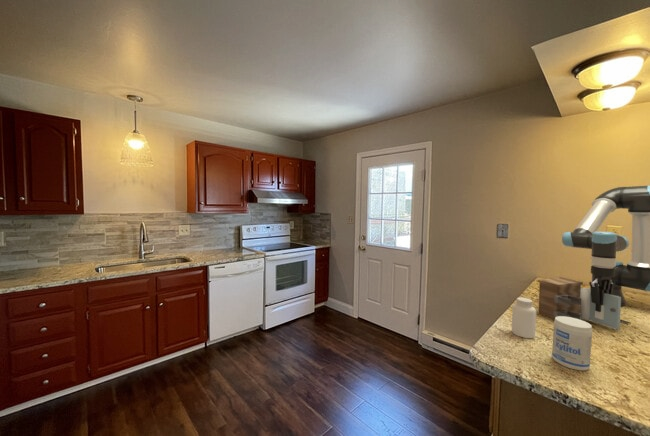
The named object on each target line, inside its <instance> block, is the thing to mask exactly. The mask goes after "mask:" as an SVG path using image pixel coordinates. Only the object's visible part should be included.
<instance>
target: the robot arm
mask: <svg viewBox="0 0 650 436" xmlns="http://www.w3.org/2000/svg"><path fill="white" fill-rule="evenodd" d="M618 209H625V210H626V209H627V213H628V214H629V215H631V216H632V217H631V218H632V219H631V224H632V225H631V260H629V261H627V262H626V265H624V263H623V261H619V260H618V261H617V259H616V258H617V257H616V256H617V252H622V251H624V250H626V249H628V248H629V245H630V241H629V240H628V238H627V237H626V236H623V235H620V234H617V233H615V232H613V231H598V230H599V229H600V227H601V226H602V225H603V223H604V222H605V220H607V218H608V217H609V215H610V213H613V212H614V211H616V210H618ZM561 241H562V244H563V246H565V247H569V248H570V247H571V248H579V249H588V250H591V256H590V259H591V260H590V261H591V262H590V263H591V266H590V273H591V281H589V283H588V284H589V289H591V301H592V303H595V318H598V319H602V320H604V305H603V296H604V293H606V294H610V295H615V296H619V297H621V307H624V306H626V302H627V301H626V298H625V296H624V293H623V291H622V290H623V289H622V288H623V287H624V288H628V289H629V288H630V289H634V290H639V291H645V292H650V185H637V186H633V185H632V186H618V187H615V188H610V189H608V190H606V191H604V192H602V193H601V194H599V195H598V196H597V197H595V198H594V200H593V201H592V203H591V208H589V210H588V211H587V213H586V214H585V215H584V217H582V219H581V221H580V222H579V224H577V226H576V227H575V229H573V231H566V232H564V233H563V234H562V236H561Z"/></svg>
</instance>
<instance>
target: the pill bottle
mask: <svg viewBox="0 0 650 436" xmlns="http://www.w3.org/2000/svg"><path fill="white" fill-rule="evenodd" d="M533 304H534V303H533V300H532V299H530V298H528V297H517V298H516V303H515V304H513V305H512V313H511V315H512V316H511V332H512V334H514V335H515V336H518V337H520V338H524V339H534V338H535V336H536V326H537V325H536V323H537V310H536V308H535V307H533Z"/></svg>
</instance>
